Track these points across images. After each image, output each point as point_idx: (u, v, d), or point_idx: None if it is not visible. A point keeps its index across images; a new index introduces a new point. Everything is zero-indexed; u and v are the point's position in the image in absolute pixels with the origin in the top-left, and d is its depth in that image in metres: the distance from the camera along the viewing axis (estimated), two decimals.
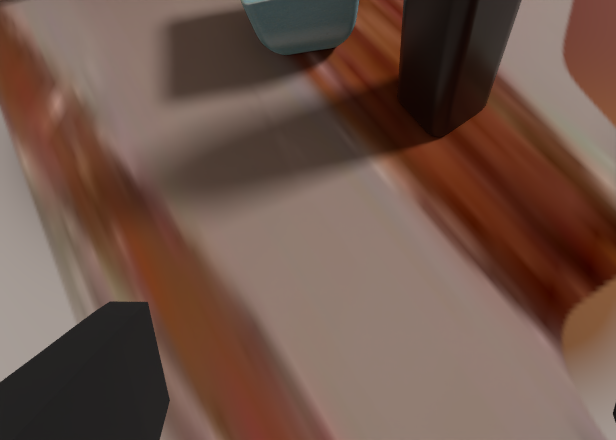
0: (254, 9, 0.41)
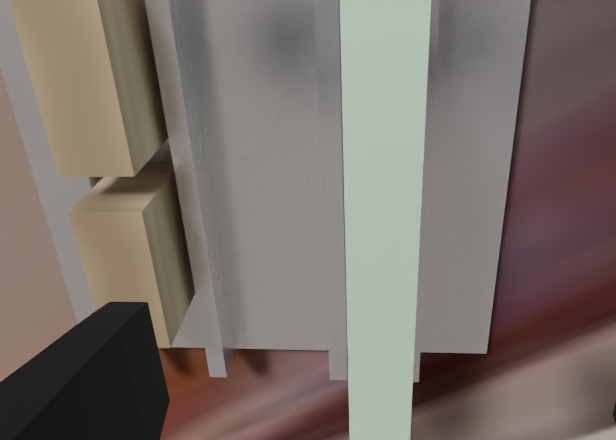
0: None
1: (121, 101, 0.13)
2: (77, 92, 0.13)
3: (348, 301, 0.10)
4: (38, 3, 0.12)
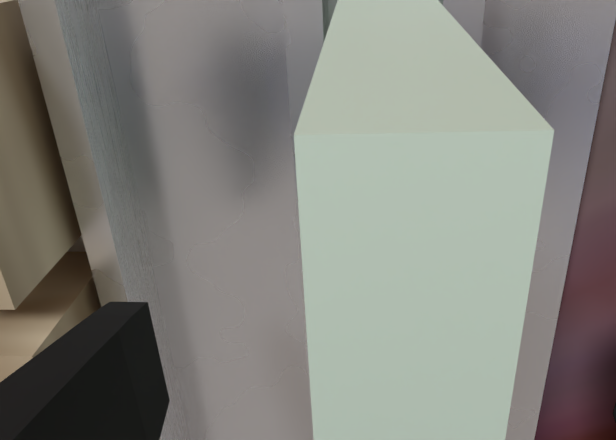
0: None
1: None
2: None
3: None
4: None
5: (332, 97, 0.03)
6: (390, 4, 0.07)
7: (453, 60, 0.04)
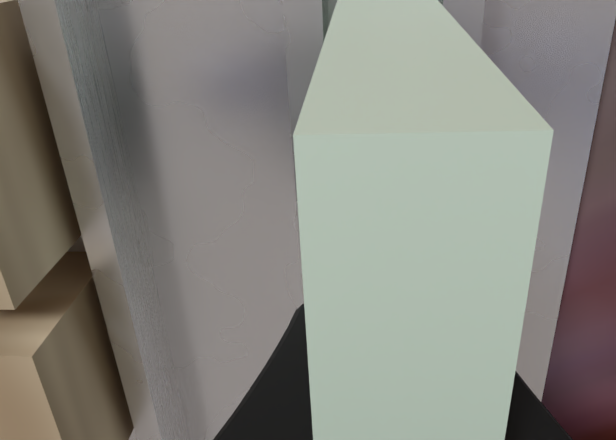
0: None
1: None
2: None
3: None
4: None
5: (332, 97, 0.03)
6: (390, 4, 0.07)
7: (453, 60, 0.04)
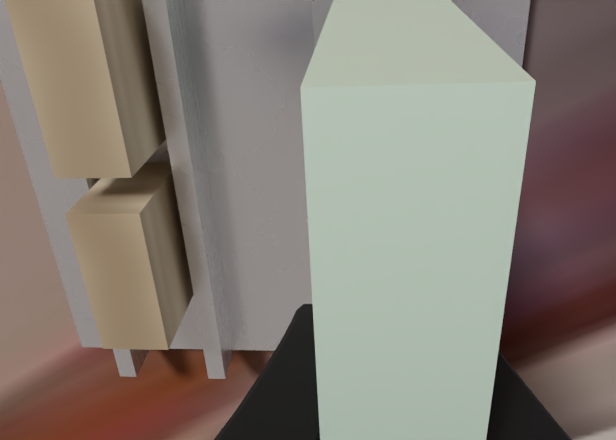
0: None
1: (118, 102, 0.13)
2: (74, 93, 0.13)
3: None
4: (34, 3, 0.12)
5: (335, 61, 0.04)
6: None
7: (447, 31, 0.04)
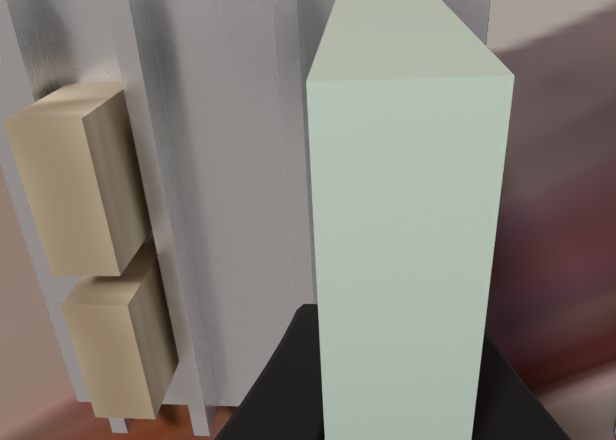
0: None
1: (108, 213, 0.15)
2: (68, 206, 0.15)
3: None
4: (33, 135, 0.14)
5: (337, 57, 0.04)
6: None
7: (439, 32, 0.05)
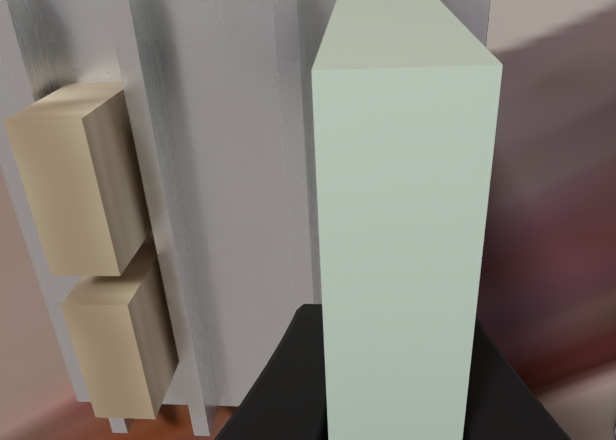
0: None
1: (108, 213, 0.15)
2: (68, 206, 0.15)
3: None
4: (33, 135, 0.14)
5: (340, 51, 0.04)
6: None
7: (435, 27, 0.05)
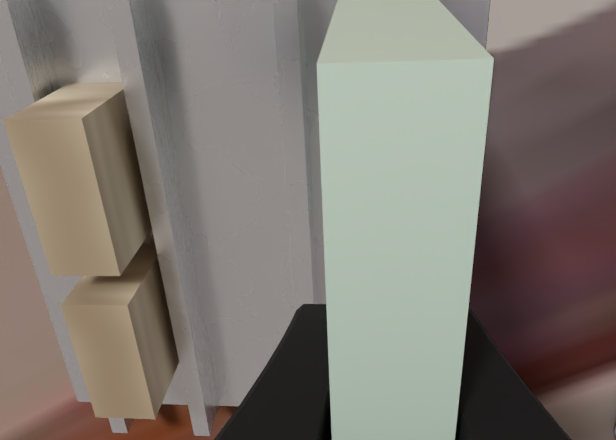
0: None
1: (108, 213, 0.15)
2: (68, 206, 0.15)
3: None
4: (33, 135, 0.14)
5: (342, 45, 0.04)
6: None
7: (432, 24, 0.05)
